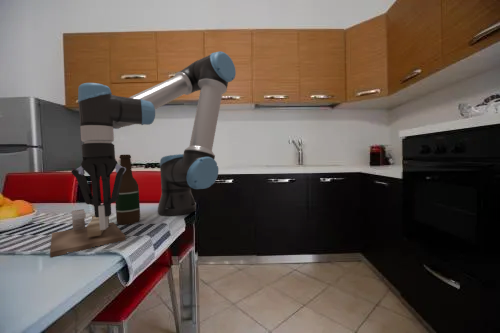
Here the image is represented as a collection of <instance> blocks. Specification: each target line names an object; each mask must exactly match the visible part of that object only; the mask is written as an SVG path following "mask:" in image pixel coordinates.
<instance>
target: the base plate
mask: <svg viewBox="0 0 500 333" xmlns="http://www.w3.org/2000/svg"><path fill="white" fill-rule="evenodd" d="M109 224H110V227H108V228H106V229H105V230H103V232H102V234H101V235H99V236H92V237H88V231H87V226H85V229H79V230H74V231H73V228H72V229H68V230H62V231H55V232H51V240H50V250H49V254H50V258H53V257H57V256H58V257H59V256H62V255H67V254H68V253H67V252H72V253H74V252H73V251H76V252H80V250H81V251H85V250H89V249H92V248H91V247H94V248H96V247H95V246H98V247H101V246H100V245H103V246H105V245H104V244H107V245H110V244H109V243H112V244H115V243H114V242H116V243H119V242H118V241H120V242H124V240H125V241H126V234H124V232H123V231H121V229H120V228H119V227H118V226H117V225H116V223H115V222H114V221H113V222H109ZM66 253H67V254H66Z"/></svg>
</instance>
